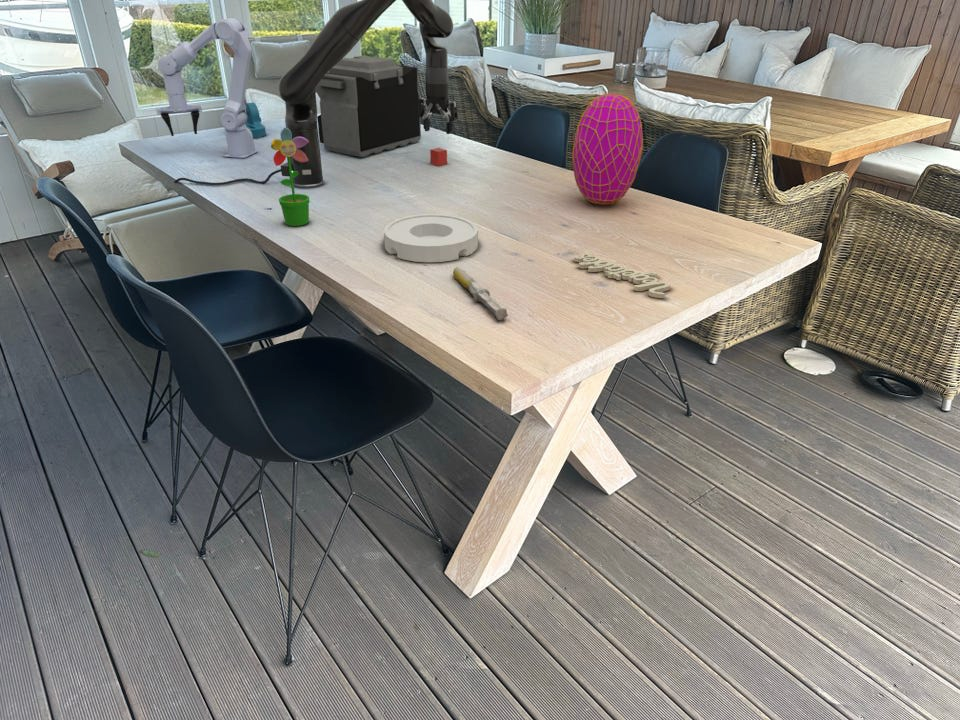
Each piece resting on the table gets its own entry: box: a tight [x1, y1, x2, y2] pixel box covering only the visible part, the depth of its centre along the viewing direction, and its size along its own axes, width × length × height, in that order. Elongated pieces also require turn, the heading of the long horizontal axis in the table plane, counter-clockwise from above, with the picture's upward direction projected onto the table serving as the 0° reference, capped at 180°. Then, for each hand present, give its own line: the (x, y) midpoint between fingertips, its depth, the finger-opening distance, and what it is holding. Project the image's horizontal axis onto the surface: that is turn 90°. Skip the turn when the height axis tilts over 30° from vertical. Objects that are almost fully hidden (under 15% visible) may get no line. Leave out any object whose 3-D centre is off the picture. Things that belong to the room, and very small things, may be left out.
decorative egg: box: [571, 92, 644, 205], centre depth 194 cm, size 19×19×30 cm
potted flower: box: [270, 127, 310, 227], centre depth 177 cm, size 9×8×25 cm
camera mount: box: [244, 102, 267, 139], centre depth 271 cm, size 18×10×10 cm, turn 35°
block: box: [429, 147, 448, 167], centre depth 236 cm, size 4×4×5 cm
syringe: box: [452, 266, 509, 321], centre depth 145 cm, size 25×4×3 cm, turn 21°
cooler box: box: [315, 55, 422, 159], centre depth 250 cm, size 37×22×30 cm, turn 144°
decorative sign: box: [574, 252, 671, 299], centre depth 155 cm, size 26×1×10 cm
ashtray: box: [383, 213, 479, 263], centre depth 170 cm, size 23×23×4 cm
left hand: (184, 134), depth 242 cm, fingers open, 7 cm apart
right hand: (437, 132), depth 232 cm, fingers open, 8 cm apart
